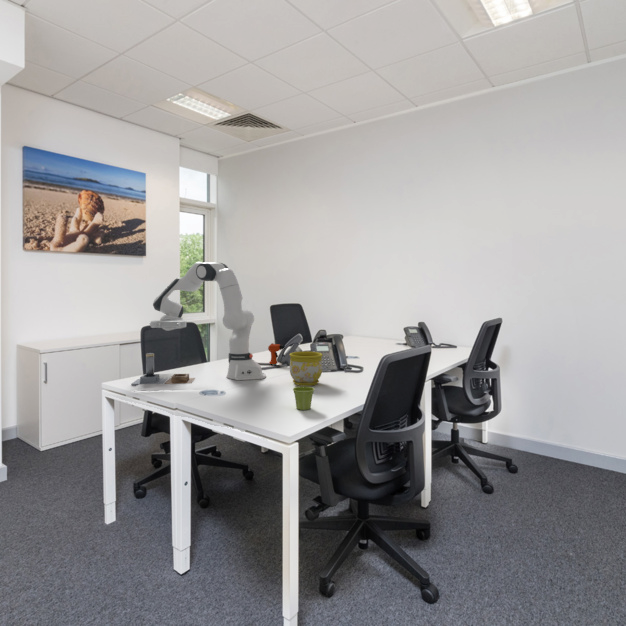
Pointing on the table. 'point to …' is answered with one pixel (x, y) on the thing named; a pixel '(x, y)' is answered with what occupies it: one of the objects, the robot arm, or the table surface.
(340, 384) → the table surface
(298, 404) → the plant pot
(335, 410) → the table surface
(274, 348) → the toy drill
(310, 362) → the flowerpot
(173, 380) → the socket block
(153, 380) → the rack block
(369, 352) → the table surface
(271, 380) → the table surface
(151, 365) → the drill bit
